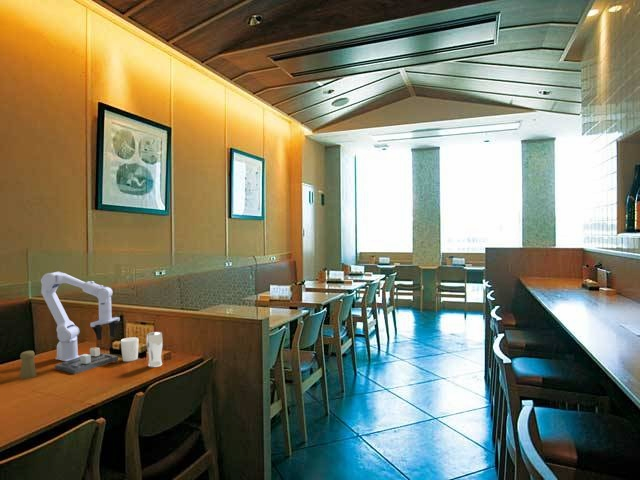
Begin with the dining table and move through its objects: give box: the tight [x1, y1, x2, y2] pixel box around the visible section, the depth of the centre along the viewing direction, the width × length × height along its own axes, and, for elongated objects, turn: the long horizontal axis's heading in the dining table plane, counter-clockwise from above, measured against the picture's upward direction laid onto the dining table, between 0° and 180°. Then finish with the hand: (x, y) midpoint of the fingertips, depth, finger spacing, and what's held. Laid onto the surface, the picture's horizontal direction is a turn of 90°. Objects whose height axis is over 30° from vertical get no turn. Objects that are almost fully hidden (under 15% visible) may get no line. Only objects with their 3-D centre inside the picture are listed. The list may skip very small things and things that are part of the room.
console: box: [54, 352, 119, 375], centre depth 190 cm, size 15×21×3 cm
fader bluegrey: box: [80, 353, 91, 364], centre depth 186 cm, size 4×2×4 cm, turn 62°
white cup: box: [120, 336, 139, 362], centre depth 197 cm, size 8×8×10 cm
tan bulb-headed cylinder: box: [19, 350, 37, 380], centre depth 176 cm, size 6×6×11 cm
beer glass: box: [146, 331, 164, 368], centre depth 187 cm, size 7×7×15 cm
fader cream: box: [89, 346, 101, 356], centre depth 197 cm, size 4×2×4 cm, turn 62°
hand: (106, 338), depth 202 cm, fingers open, 6 cm apart
